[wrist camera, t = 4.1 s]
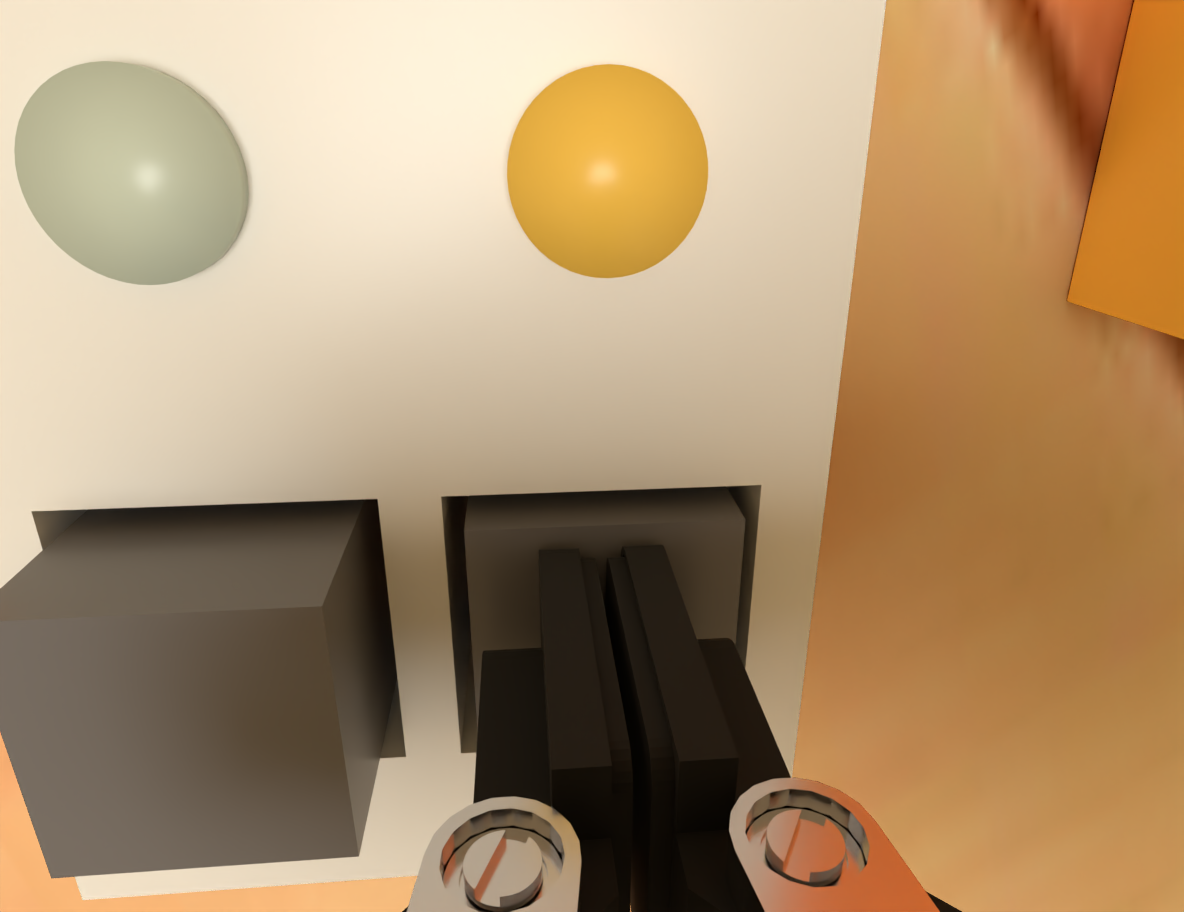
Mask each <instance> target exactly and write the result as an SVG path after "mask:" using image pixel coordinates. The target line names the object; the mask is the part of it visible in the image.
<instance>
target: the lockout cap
mask: <svg viewBox="0 0 1184 912" xmlns="http://www.w3.org/2000/svg"><path fill="white" fill-rule="evenodd" d="M1067 301H1068V302H1071V303H1074V304H1077V305H1080V306H1083V307H1086V308H1089V309H1092V310H1095V311H1098V312H1101V313H1105V314H1108V315H1111V316H1114V317H1117V318H1120V319H1123V320H1126V321H1129V322H1132V323H1135V324H1138V325H1141V326H1144V327H1148V328H1151V329H1154V330H1157V331H1160V332H1163V333H1166V334H1169V335H1172V336H1175V337H1178V338H1181V339H1184V0H1134V4H1133V8H1132V13H1131V17H1130V22H1129V26H1128V31H1127V35H1126V40H1125V44H1124V48H1123V53H1122V57H1121V62H1120V66H1119V71H1118V75H1117V80H1116V84H1115V89H1114V93H1113V98H1112V102H1111V107H1110V111H1109V116H1108V120H1107V124H1106V129H1105V133H1104V138H1103V142H1102V147H1101V151H1100V156H1099V160H1098V165H1097V169H1096V174H1095V178H1094V183H1093V187H1092V192H1091V196H1090V200H1089V205H1088V209H1087V214H1086V218H1085V223H1084V227H1083V232H1082V236H1081V241H1080V245H1079V250H1078V254H1077V259H1076V263H1075V268H1074V272H1073V276H1072V281H1071V285H1070V290H1069V294H1068V299H1067Z"/></svg>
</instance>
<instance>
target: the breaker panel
mask: <svg viewBox="0 0 1184 912" xmlns="http://www.w3.org/2000/svg"><path fill="white" fill-rule="evenodd" d="M885 7H886V0H0V588H2V587H3V586H4V585H5V584H6V583H7V582H8V581H9V580H10V579H11V578H13V577H14V576H15V575H16V574H17V573H18V572H19V571H20V570H21V569H23V568H24V567H25V566H26V565H27V564H28V563H29V562H30V561H31V560H32V559H34V558H35V557H36V556H37V555H38V554H39V553H40V552H41V551H42V550H43V549H45V548H46V547H47V546H48V545H49V544H50V543H51V542H52V541H53V540H55V539H56V538H57V537H58V536H59V535H60V534H61V533H62V532H63V531H64V530H66V529H67V528H68V527H69V526H70V525H71V524H72V523H73V522H74V521H76V520H77V519H78V518H79V517H80V516H81V515H82V514H83V513H84V512H85V511H87V510H88V509H110V508H138V507H166V506H193V505H221V504H249V503H276V502H304V501H332V500H359V499H378V507H379V516H380V525H381V534H382V543H383V552H384V561H385V570H386V579H387V588H388V598H389V607H390V616H391V625H392V634H393V643H394V652H395V661H396V670H397V681H396V686H395V690H394V695H393V700H392V704H391V709H390V714H389V718H388V723H387V728H386V732H385V737H384V742H383V746H382V751H381V756H380V761H379V765H378V770H377V775H376V779H375V784H374V789H373V793H372V798H371V803H370V807H369V812H368V817H367V821H366V826H365V831H364V835H363V840H362V845H361V849H360V854H359V857H346V858H332V859H318V860H304V861H290V862H275V863H261V864H247V865H233V866H219V867H205V868H191V869H176V870H162V871H148V872H134V873H120V874H106V875H91V876H77V877H75V879H76V882H77V885H78V888H79V891H80V894H81V897H82V900H90V899H104V898H118V897H131V896H145V895H159V894H173V893H186V892H200V891H214V890H227V889H241V888H255V887H269V886H282V885H296V884H310V883H323V882H337V881H351V880H365V879H378V878H392V877H406V876H418V873H419V869H420V866H421V863H422V859H423V856H424V853H425V851H426V849H427V847H428V845H429V843H430V841H431V839H432V837H433V835H434V833H435V832H436V831H437V830H438V829H439V828H440V827H441V826H442V825H443V824H444V823H445V822H446V820H447V819H448V818H449V817H451V816H452V815H454V814H456V813H457V812H459V811H461V810H462V809H464V808H465V807H467V806H469V805H471V804H473V800H474V783H475V766H476V750H477V733H478V730H477V715H476V700H475V685H474V670H473V655H472V641H471V626H470V611H469V596H468V581H467V566H466V551H465V536H464V528H465V520H466V512H467V504H468V496H470V495H498V494H525V493H553V492H581V491H608V490H636V489H664V488H691V487H719V486H726V487H727V488H728V490H729V492H730V494H731V495H732V497H733V499H734V501H735V502H736V504H737V506H738V507H739V509H740V511H741V513H742V514H743V516H744V518H745V532H744V545H743V557H742V570H741V582H740V594H739V607H738V619H737V631H736V644H735V646H736V648H737V651H738V653H739V655H740V658H741V660H742V662H743V665H744V667H745V670H746V672H747V674H748V677H749V679H750V681H751V684H752V686H753V689H754V691H755V693H756V696H757V698H758V700H759V703H760V705H761V707H762V710H763V712H764V715H765V717H766V719H767V722H768V724H769V726H770V729H771V731H772V734H773V736H774V738H775V741H776V743H777V745H778V748H779V750H780V752H781V755H782V757H783V760H784V762H785V764H786V767H787V769H788V771H789V774H790V776H791V778H792V772H793V764H794V755H795V747H796V739H797V731H798V723H799V714H800V706H801V698H802V690H803V681H804V673H805V665H806V657H807V648H808V640H809V632H810V624H811V616H812V607H813V599H814V591H815V583H816V574H817V566H818V558H819V550H820V542H821V533H822V525H823V517H824V509H825V500H826V492H827V484H828V476H829V467H830V459H831V451H832V443H833V435H834V426H835V418H836V410H837V402H838V393H839V385H840V377H841V369H842V361H843V352H844V344H845V336H846V328H847V319H848V311H849V303H850V295H851V286H852V278H853V270H854V262H855V254H856V245H857V237H858V229H859V221H860V212H861V204H862V196H863V188H864V180H865V171H866V163H867V155H868V147H869V138H870V130H871V122H872V114H873V105H874V97H875V89H876V81H877V73H878V64H879V56H880V48H881V40H882V31H883V23H884V15H885Z"/></svg>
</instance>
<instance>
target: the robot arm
mask: <svg viewBox="0 0 1184 912" xmlns="http://www.w3.org/2000/svg"><path fill="white" fill-rule="evenodd" d="M538 555H539V592H540V628H541V648H523V649H504V650H485V651H483V653H482V665H481V682H480V699H479V716H478V733H477V750H476V766H475V783H474V800H473V804H471V805H469V806H467V807H465V808H464V809H462V810H461V811H459V812H457V813H456V814H454V815H452V816H451V817H449V818H448V819H447V820H446V822H445V823H444V824H443V825H442V826H441V827H440V828H439V829H438V830H437V831H436V832H435V833H434V835H433V837H432V839H431V841H430V843H429V845H428V847H427V849H426V851H425V853H424V856H423V859H422V863H421V866H420V869H419V873H418V876H417V879H416V883H415V886H414V889H413V893H412V896H411V899H410V903H409V906H408V907H407V908H406V909H405V910H404V911H402V912H630V905H631V912H962V911H960V910H958V909H956V908H954V907H953V906H951V905H949V904H947V903H945V902H944V901H942V900H940V899H938V898H937V897H935V896H933V895H931V894H929V893H928V892H926V891H925V890H924V889H923V887H922V886H921V884H920V883H919V882H918V880H917V879H916V877H915V876H914V875H913V873H912V872H911V870H910V869H909V867H908V866H907V865H906V863H905V862H904V860H903V859H902V858H901V856H900V855H899V853H898V852H897V851H896V849H895V848H894V846H893V845H892V844H891V842H890V841H889V839H888V838H887V836H886V835H885V834H884V832H883V831H882V829H881V828H880V827H879V825H878V824H877V822H876V821H875V820H874V819H873V818H872V816H871V815H870V814H869V813H868V812H867V811H866V810H865V809H864V808H863V807H862V806H861V805H860V804H859V803H858V802H856V801H855V800H853V799H852V798H850V797H849V796H847V795H846V794H844V793H843V792H841V791H840V790H838V789H835V788H833V787H830V786H828V785H825V784H823V783H820V782H818V781H812V780H806V779H800V778H791V776H790V774H789V771H788V769H787V767H786V764H785V762H784V760H783V757H782V755H781V752H780V750H779V748H778V745H777V743H776V741H775V738H774V736H773V734H772V731H771V729H770V726H769V724H768V722H767V719H766V717H765V715H764V712H763V710H762V707H761V705H760V703H759V700H758V698H757V696H756V693H755V691H754V689H753V686H752V684H751V681H750V679H749V677H748V674H747V672H746V670H745V667H744V665H743V662H742V660H741V658H740V655H739V653H738V651H737V648H736V646H735V644H734V643H733V641H732V640H731V639H729V638H713V639H697V638H696V635H695V632H694V629H693V627H692V624H691V621H690V618H689V615H688V612H687V610H686V607H685V604H684V601H683V598H682V595H681V593H680V590H679V587H678V584H677V581H676V579H675V576H674V573H673V570H672V567H671V564H670V562H669V559H668V556H667V553H666V550H665V548H664V546H663V545H642V546H622V549H621V557H610V558H607V563H606V613H605V608H604V602H603V597H602V592H601V586H600V581H599V575H598V570H597V565H596V560H595V558H587V559H581V558H580V552H579V548H571V549H548V550H538Z"/></svg>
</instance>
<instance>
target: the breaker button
mask: <svg viewBox="0 0 1184 912" xmlns="http://www.w3.org/2000/svg"><path fill="white" fill-rule="evenodd" d="M396 681H397V670H396V661H395V652H394V643H393V634H392V625H391V616H390V607H389V598H388V588H387V579H386V570H385V561H384V552H383V543H382V534H381V525H380V516H379V507H378V499H359V500H332V501H304V502H276V503H249V504H221V505H193V506H166V507H138V508H110V509H88V510H87V511H85V512H84V513H83V514H82V515H81V516H80V517H79V518H78V519H77V520H76V521H74V522H73V523H72V524H71V525H70V526H69V527H68V528H67V529H66V530H64V531H63V532H62V533H61V534H60V535H59V536H58V537H57V538H56V539H55V540H53V541H52V542H51V543H50V544H49V545H48V546H47V547H46V548H45V549H43V550H42V551H41V552H40V553H39V554H38V555H37V556H36V557H35V558H34V559H32V560H31V561H30V562H29V563H28V564H27V565H26V566H25V567H24V568H23V569H21V570H20V571H19V572H18V573H17V574H16V575H15V576H14V577H13V578H11V579H10V580H9V581H8V582H7V583H6V584H5V585H4V586H3V587H2V588H0V732H1V735H2V738H3V741H4V744H5V747H6V749H7V752H8V755H9V758H10V761H11V764H12V767H13V770H14V772H15V775H16V778H17V781H18V784H19V787H20V790H21V792H22V795H23V798H24V801H25V804H26V807H27V810H28V813H29V815H30V818H31V821H32V824H33V827H34V830H35V833H36V836H37V838H38V841H39V844H40V847H41V850H42V853H43V856H44V858H45V861H46V864H47V867H48V870H49V873H50V876H51V878H63V877H77V876H91V875H106V874H120V873H134V872H148V871H162V870H176V869H191V868H205V867H219V866H233V865H247V864H261V863H275V862H290V861H304V860H318V859H332V858H346V857H359V854H360V849H361V845H362V840H363V835H364V831H365V826H366V821H367V817H368V812H369V807H370V803H371V798H372V793H373V789H374V784H375V779H376V775H377V770H378V765H379V761H380V756H381V751H382V746H383V742H384V737H385V732H386V728H387V723H388V718H389V714H390V709H391V704H392V700H393V695H394V690H395V686H396Z"/></svg>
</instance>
